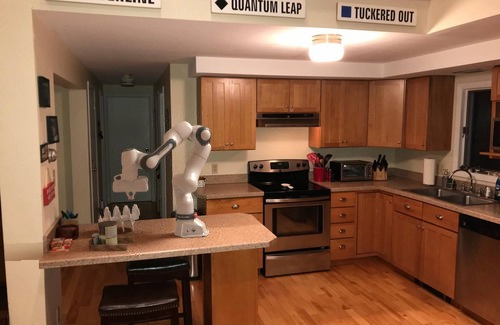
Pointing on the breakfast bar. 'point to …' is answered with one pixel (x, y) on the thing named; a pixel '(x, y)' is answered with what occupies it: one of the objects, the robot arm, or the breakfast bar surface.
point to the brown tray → (111, 247)
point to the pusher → (96, 239)
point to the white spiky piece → (124, 217)
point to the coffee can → (107, 233)
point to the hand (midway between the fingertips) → (131, 199)
